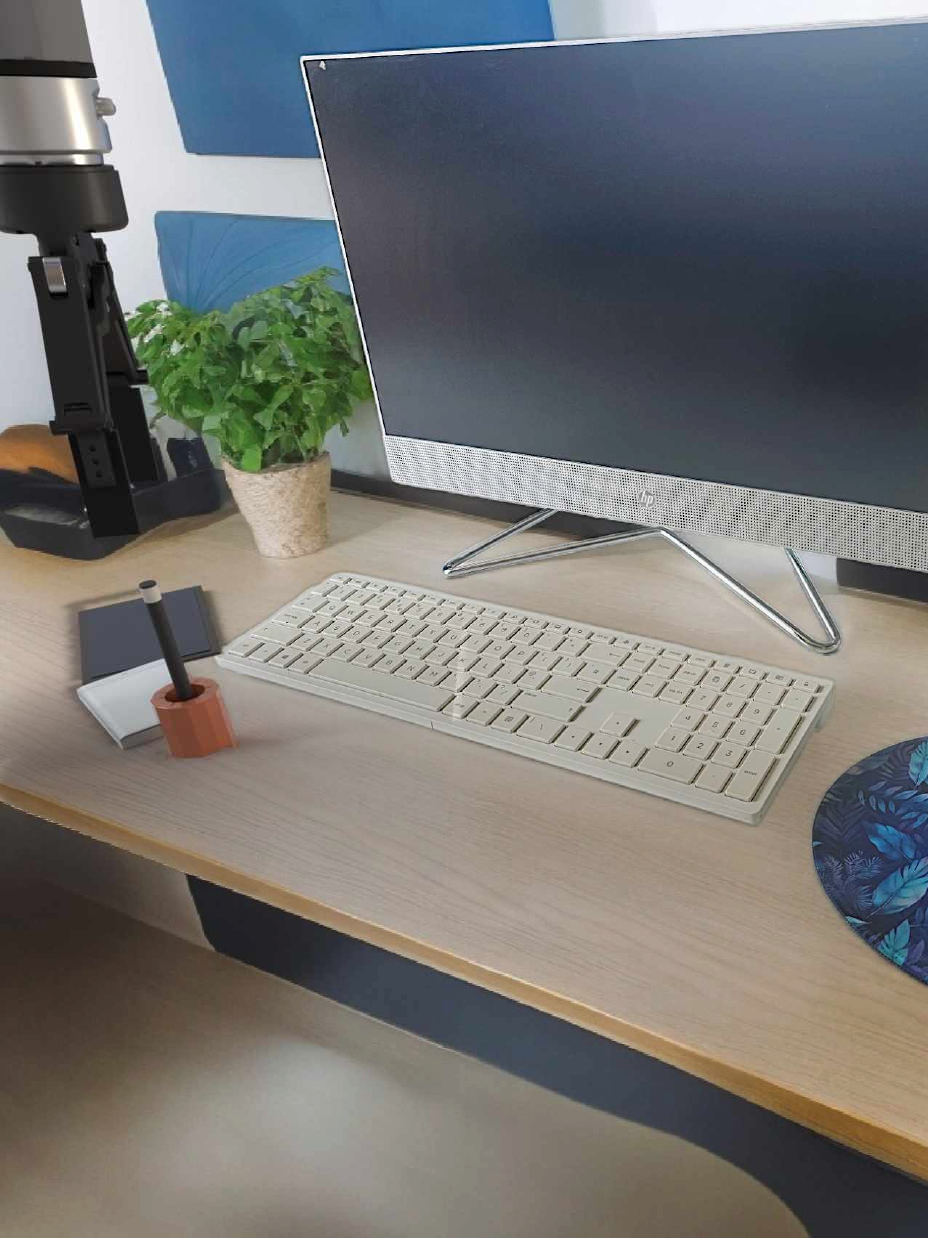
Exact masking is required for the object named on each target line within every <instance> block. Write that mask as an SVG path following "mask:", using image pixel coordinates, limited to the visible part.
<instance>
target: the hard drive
mask: <svg viewBox="0 0 928 1238" xmlns="http://www.w3.org/2000/svg"><path fill="white" fill-rule="evenodd" d="M170 683H173V682H172V679H171V677H170V674H169V671H168V668H167V665H166V662H165V659H160V660H157V661H154V662H151V663H148V664H145V665H142V666H139V667H136V668H133V669H130V670H127V671H124V672H122V673H118V674H116V675H113V676H110V677H107V678H104V679H101V680H98V681H95V682H92V683H90V684H87V685H84V686H83V685H82V686H79V688H77V689H76V693H77V696H78V698H79V699H80V701H81V702H82V703H83V704H84V705H85V707H86V708H87V709H88V710H89V712H90V713H91V714H92V715H93V716H94V717H95V718H96V720H97V721H98V722H99V724H100V725H101V726H102V727H103V728H104V729H105V730H106V731H107V733H108V734H109V735H110V736H111V738H112V739H113V740H114V741H115V742H116V743H117V745H118V746H119V747H120V749H121V750H122V751H124V750H127V749H130V748H132V747H135V746H138V745H141V744H143V743H146V742H149V741H151V740H154V739H157V738H159V737H163V735H162V732H161V729H160V727H159V724H158V721H157V718H156V716H155V713H154V710H153V707H152V704H151V702H150V701H151V699H152V697H153V695H154V693H155V692H157V691H158V690H160V689H161V688H163V687H164V686H166V685H167V684H170Z"/></svg>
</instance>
